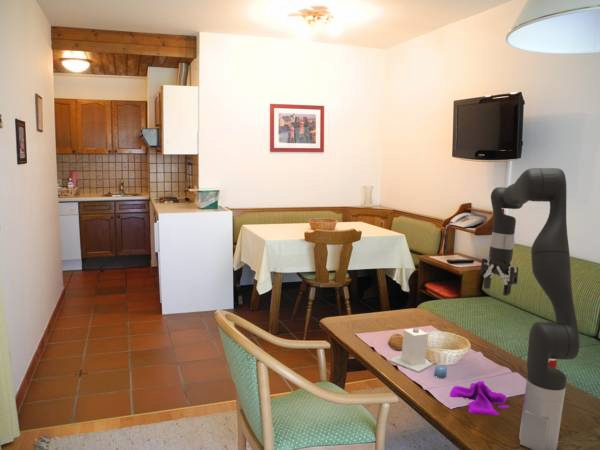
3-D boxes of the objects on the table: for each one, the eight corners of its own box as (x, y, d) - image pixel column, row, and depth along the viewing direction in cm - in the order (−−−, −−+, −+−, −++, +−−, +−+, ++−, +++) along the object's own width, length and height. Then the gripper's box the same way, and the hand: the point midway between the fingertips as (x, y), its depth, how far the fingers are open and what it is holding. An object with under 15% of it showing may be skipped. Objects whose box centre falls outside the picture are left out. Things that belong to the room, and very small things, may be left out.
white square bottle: (425, 363, 183) (428, 331, 182) (411, 365, 181) (414, 332, 179) (414, 356, 189) (417, 325, 187) (401, 358, 186) (404, 327, 184)
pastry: (407, 352, 195) (408, 342, 194) (389, 350, 195) (390, 341, 195) (405, 342, 204) (405, 333, 203) (387, 341, 204) (388, 332, 204)
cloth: (482, 422, 148) (484, 402, 147) (436, 393, 163) (438, 375, 162) (533, 406, 158) (535, 388, 158) (485, 381, 174) (487, 363, 173)
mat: (418, 372, 177) (418, 371, 176) (389, 361, 185) (389, 360, 185) (436, 363, 185) (436, 362, 185) (407, 352, 193) (407, 351, 193)
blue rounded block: (442, 379, 173) (443, 371, 172) (432, 375, 175) (432, 367, 175) (448, 376, 175) (449, 367, 175) (437, 372, 178) (438, 363, 178)
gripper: (478, 242, 181) (473, 287, 184) (510, 250, 169) (504, 298, 171) (493, 241, 185) (488, 285, 187) (526, 249, 172) (520, 296, 174)
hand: (496, 291), depth 179 cm, fingers open, 8 cm apart
